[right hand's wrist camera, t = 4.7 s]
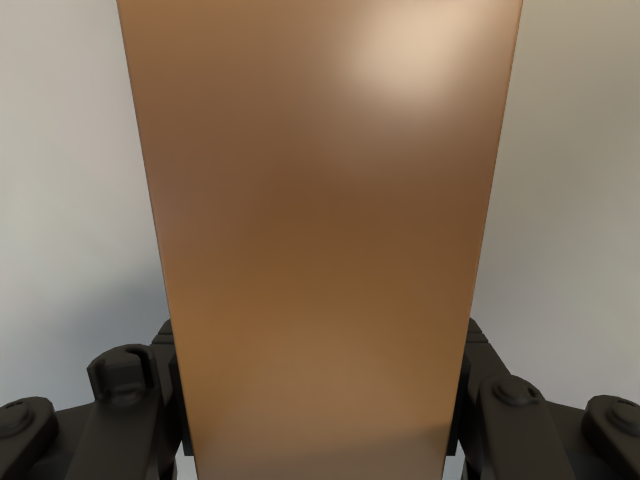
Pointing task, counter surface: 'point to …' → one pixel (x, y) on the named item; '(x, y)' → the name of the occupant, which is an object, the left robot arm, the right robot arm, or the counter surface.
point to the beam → (319, 220)
